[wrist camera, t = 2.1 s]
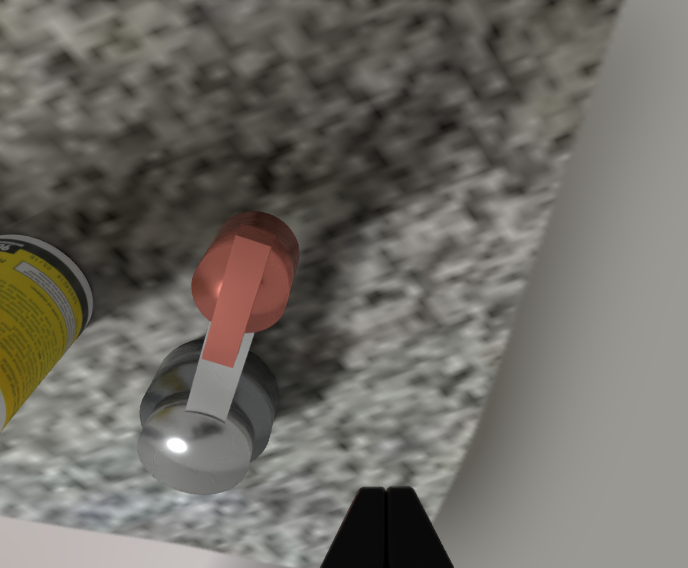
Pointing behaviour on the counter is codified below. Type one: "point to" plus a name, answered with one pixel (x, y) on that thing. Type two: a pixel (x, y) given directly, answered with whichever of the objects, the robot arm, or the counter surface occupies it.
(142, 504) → the counter surface
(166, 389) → the block
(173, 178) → the counter surface
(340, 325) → the counter surface
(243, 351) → the crank
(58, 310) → the supplement bottle
